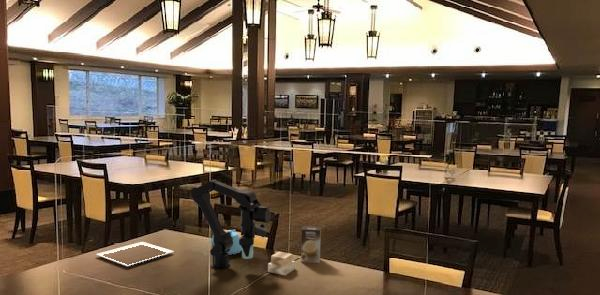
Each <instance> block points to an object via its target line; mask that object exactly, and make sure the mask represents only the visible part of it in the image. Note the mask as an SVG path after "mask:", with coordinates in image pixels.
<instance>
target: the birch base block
mask: <svg viewBox="0 0 600 295" xmlns="http://www.w3.org/2000/svg"><path fill="white" fill-rule="evenodd" d="M295 269H296V260H292V262H291V263H289V264H288V265H286V266H281V265H275V264H271V261H270V262H268V263H267V272H268V273H272V274H278V275H282V276H287V275H289V273H291V272H293V271H294V270H295Z"/></svg>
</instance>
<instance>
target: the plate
mask: <svg viewBox="0 0 600 295" xmlns="http://www.w3.org/2000/svg"><path fill="white" fill-rule="evenodd" d="M139 245H144V246H148V247H151V248H155V249H158V250H160V251H163V252H166V253H165V254H162V255H158V256H155V257H152V258H149V259H145V260H142V261H139V262H136V263H132V264H129V265H127V264H125V263H122V262H119V261H116V260H114V259H111V258H108V257H105V256H103V255H104V254H109V253H114V252H117V251H120V250H125V249H128V248H132V247H136V246H139ZM174 252H175V251H174V250H172V249H168V248H165V247H162V246H158V245H154V244H151V243H149V242H145V241H139V242H135V243H131V244H128V245H124V246H121V247H117V248H114V249H109V250H106V251H101V252H97V253H96V254H95V255H96V256H98V257H101V258H104V259H107V260H109V261H111V262H114V263H117V264H119V265H122V266H125V267H132V266H135V265H134V264H136V265H138V264H137V263H139V264H142V263H145V262H148V261H150V260H151V259H152V260H154V258H155V259H158V258H160V256H161V257H164V256H167V255H170V254H172V253H174ZM157 257H158V258H157ZM147 260H148V261H147ZM144 261H145V262H144ZM141 262H142V263H141ZM131 265H132V266H131Z"/></svg>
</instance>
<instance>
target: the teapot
mask: <svg viewBox="0 0 600 295" xmlns="http://www.w3.org/2000/svg"><path fill="white" fill-rule="evenodd" d="M226 232H230V234H231V237H232V238H233V246H232V247H231V248H230V251H228V252H227V253H228V256H231V255H232V254H233V255H236V254H237V253H238V254H239V253H242V247H241V245H239V239H240V237H241V235H239V233H237V232H236V229H228V230H227V229H226ZM213 238H214V235H213V234H212V236H211V240H210V243H211V244H212V245H213V247H214V246H215V245H214V242H213ZM233 255H232V256H233Z"/></svg>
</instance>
